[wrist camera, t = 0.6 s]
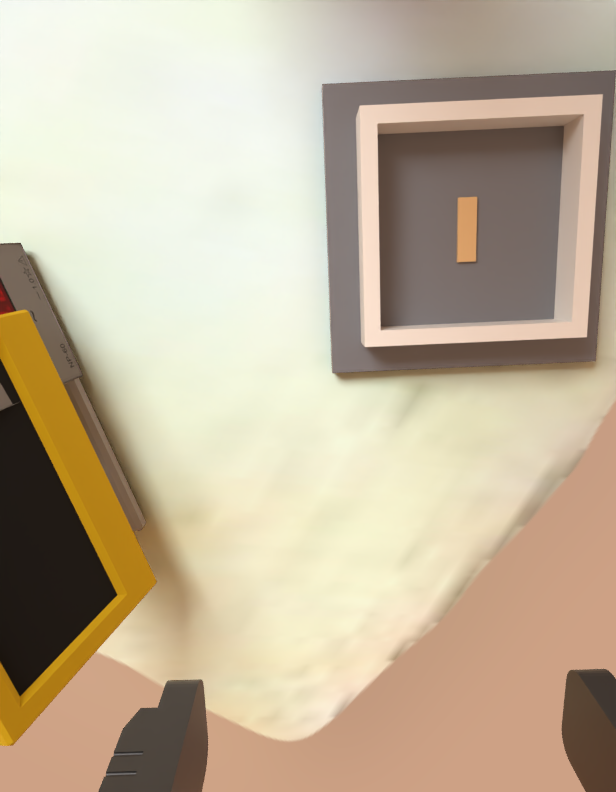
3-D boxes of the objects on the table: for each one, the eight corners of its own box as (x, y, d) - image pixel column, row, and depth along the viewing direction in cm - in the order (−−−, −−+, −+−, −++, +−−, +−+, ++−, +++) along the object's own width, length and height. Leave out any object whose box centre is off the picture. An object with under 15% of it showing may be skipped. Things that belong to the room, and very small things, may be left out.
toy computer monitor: (170, 557, 41) (88, 728, 25) (75, 589, 41) (-61, 776, 26) (53, 305, 37) (-129, 327, 21) (-50, 344, 37) (-300, 394, 22)
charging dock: (321, 89, 34) (323, 68, 31) (607, 76, 34) (640, 54, 31) (331, 370, 38) (334, 379, 35) (588, 359, 38) (616, 367, 35)
